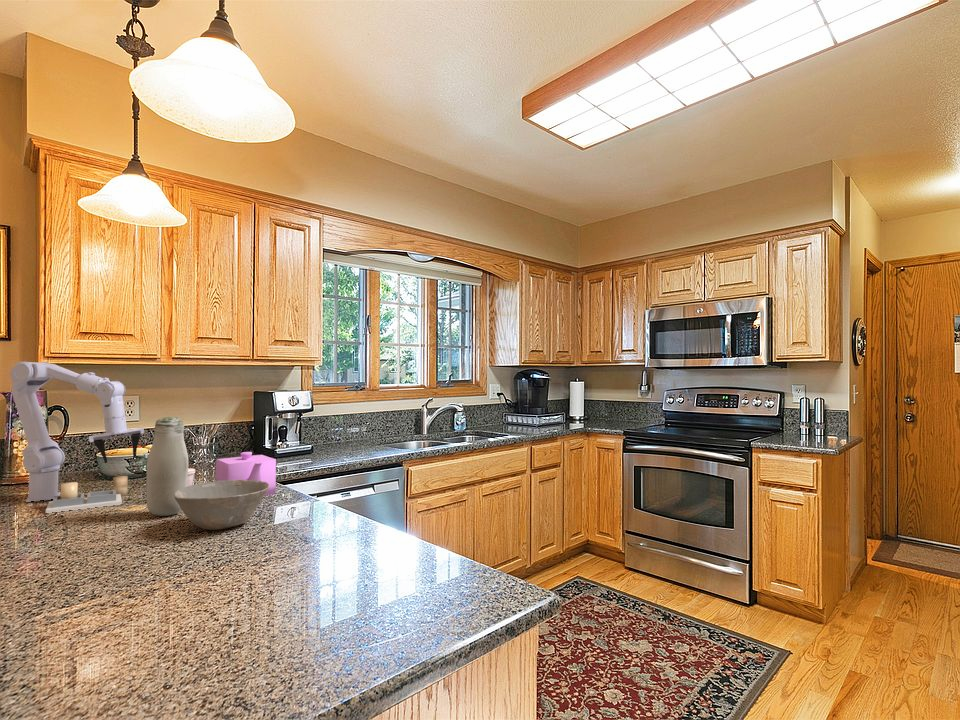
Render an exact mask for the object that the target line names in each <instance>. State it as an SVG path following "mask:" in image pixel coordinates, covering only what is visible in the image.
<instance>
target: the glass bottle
mask: <svg viewBox="0 0 960 720" xmlns="http://www.w3.org/2000/svg"><path fill="white" fill-rule="evenodd" d="M184 431H185V424H184V422H183V419H181V418H179V417H177V416H175V417H174V416H165V417H161V418H158V419H157V420H156V422H155V424H154V436H153V441H152V444H151V447H150V450H149V452H148V456H147V460H146V485H145V486H146V487H145V488H146V491H145V492H146V497H145V498H146V499H145V500H146V507H147V510H148V511H149V513H151V514H152V515H154V516H158V517H168V516H172V515H176V514H178V513H180V512H181V511H182V510H181V508H180V506H179V504H178V503H177V501H176V500H175V498H174V493H175V492H176V491H177V490H179V489H181V488H184V487H187V477H188V468H189V454H188V450H187V445H186V443H185V437H184V436H185V435H184Z"/></svg>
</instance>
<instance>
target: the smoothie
mask: <svg viewBox="0 0 960 720" xmlns="http://www.w3.org/2000/svg"><path fill="white" fill-rule="evenodd" d="M195 473H196V469H195V468H193V467H192V468H190V467H188V477H187V486H190V485H194V478H195Z"/></svg>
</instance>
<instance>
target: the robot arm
mask: <svg viewBox="0 0 960 720" xmlns="http://www.w3.org/2000/svg"><path fill="white" fill-rule="evenodd" d="M9 375H10V379H11V395H12V398H13V401H14V404H15V407H16V410H17V413H18V416H19V420H20V423H21V425H22V429H23V432H24V435H25V438H26V441H27V445H26V446H25V448H23V450H22V454H23V455H22V456H23V458H22V465H23V467H24V469H25V470H26V471H27V473H28V475H29V476H28V496H27V498H26V499H25V503H32V502H31V501H34V502H41V501H40V500H44V501H51V499H54V496H60V495H61V491H59V471H60V469H61V466H62V465H63V463H64V462H65V459H66V456H65V452H64V451H63V450H62V449H61V448H60V446H59V443H58V442H56V441H55V440H53V439H51V437H50V433H49V431H48V429H47V425H46V422H45V419H44V416H43V413H42V409H41V406H40V404H39V399H38V397H37V391H39V389H40V388H42V387H43V386H44V385H45V384H47V383H48V382H49V381H51V380H52V379H57V380H60V381H65V382H68V383H69V384H70V383H71V384H75V387H76V389H77V390H79V391H82V392H85V393H89V394H92V395H94V396H96V397H97V398H98V399H99V402H100V404H101V408H102V417H103V423H104V431H105V433H101V434H95V435H90V436H89V435H88V440H89V443H93V444H94V445H95V447H96V448H97V449H98V452H99V453H100V454H101V456H102V458H103V462H104V464H108V458H107V454H106V447H105V441H106V440H110V439H111V440H112V439H118V438H123V437H129V436H130V437H131V444H132V455H133V458H137V450H138V445H139V441H140V438H141V436H142V435H141V434H145V429H144V427H138V428H137V427H136V428H132V429H128V427H127V426H128V425H127V419H126V413H125V412H126V411H125V406H124V398H123V397H124V396H125V394H126V389H127V388H126V385H124V383H123V382H121V381H119V380H112V381H110V378H108V377H101V376H97V375H96V373H95V372H92V371H91V372H90V371H89V372H83V373H81V374H80V373H77V372H75V371H72V370H71V369H68V368H65V367H62V366H61V365H57V364H55V363H50V362H47V361H42V362H33V361H31V362H30V361H19V362H17V363H16V364H14V366H13V367H12V368H11V370H10V371H9ZM121 434H122V435H121ZM104 440H105V441H104Z"/></svg>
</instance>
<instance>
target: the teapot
mask: <svg viewBox="0 0 960 720" xmlns="http://www.w3.org/2000/svg"><path fill="white" fill-rule="evenodd" d="M252 454H253V452H252V451H243V452H240V456H235V457H225V458H217V459H215V481H224V480H248V481H249V480H256V481H262V482H267V483H268V484H269V485H270V486H269V489H268V491H267V492H266V493H265V495H264V496H268V495H276V493H277V492H276V491H277V490H276V489H277V488H276V485H277V484H276V482H277V481H276V480H277V476H276V475H277V473H276V472H277V459H276V458H274V457H269V456H267V455H264V454H256V455H255V454H254V455H252Z"/></svg>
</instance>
